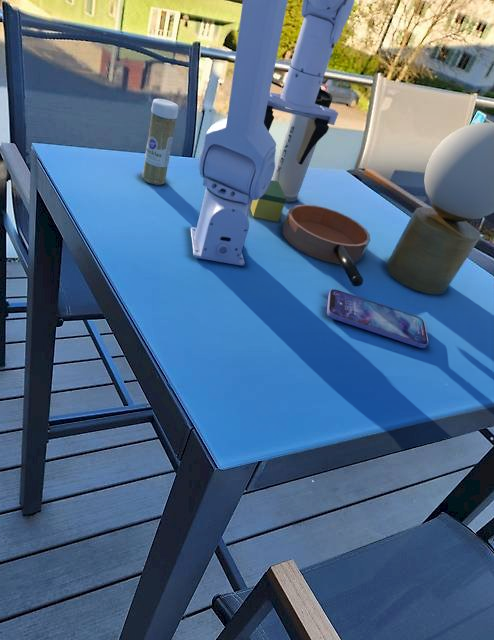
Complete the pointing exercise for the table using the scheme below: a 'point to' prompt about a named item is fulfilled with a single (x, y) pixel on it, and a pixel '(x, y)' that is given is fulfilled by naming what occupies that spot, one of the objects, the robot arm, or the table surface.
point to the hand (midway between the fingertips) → (279, 158)
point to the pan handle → (348, 265)
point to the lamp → (447, 211)
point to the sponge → (269, 203)
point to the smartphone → (377, 318)
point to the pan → (324, 233)
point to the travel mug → (295, 153)
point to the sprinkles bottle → (159, 141)
